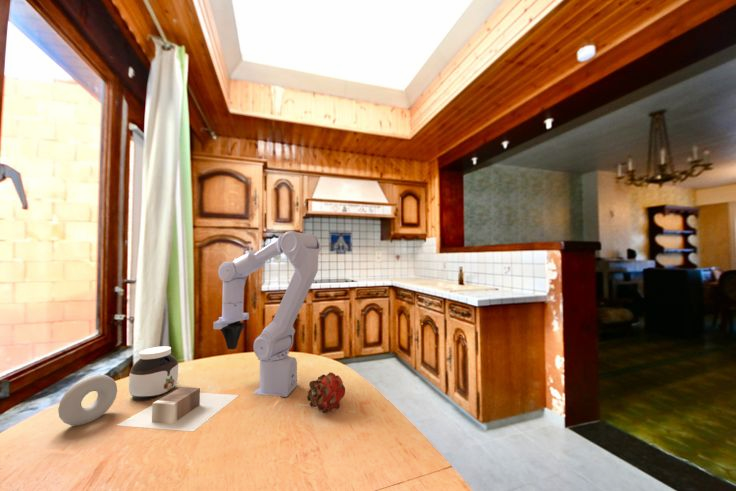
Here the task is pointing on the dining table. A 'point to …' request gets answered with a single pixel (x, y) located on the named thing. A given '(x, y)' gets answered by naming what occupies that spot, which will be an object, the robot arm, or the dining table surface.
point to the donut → (73, 397)
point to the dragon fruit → (326, 392)
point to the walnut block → (175, 405)
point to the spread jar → (153, 373)
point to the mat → (191, 420)
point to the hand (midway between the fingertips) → (232, 348)
